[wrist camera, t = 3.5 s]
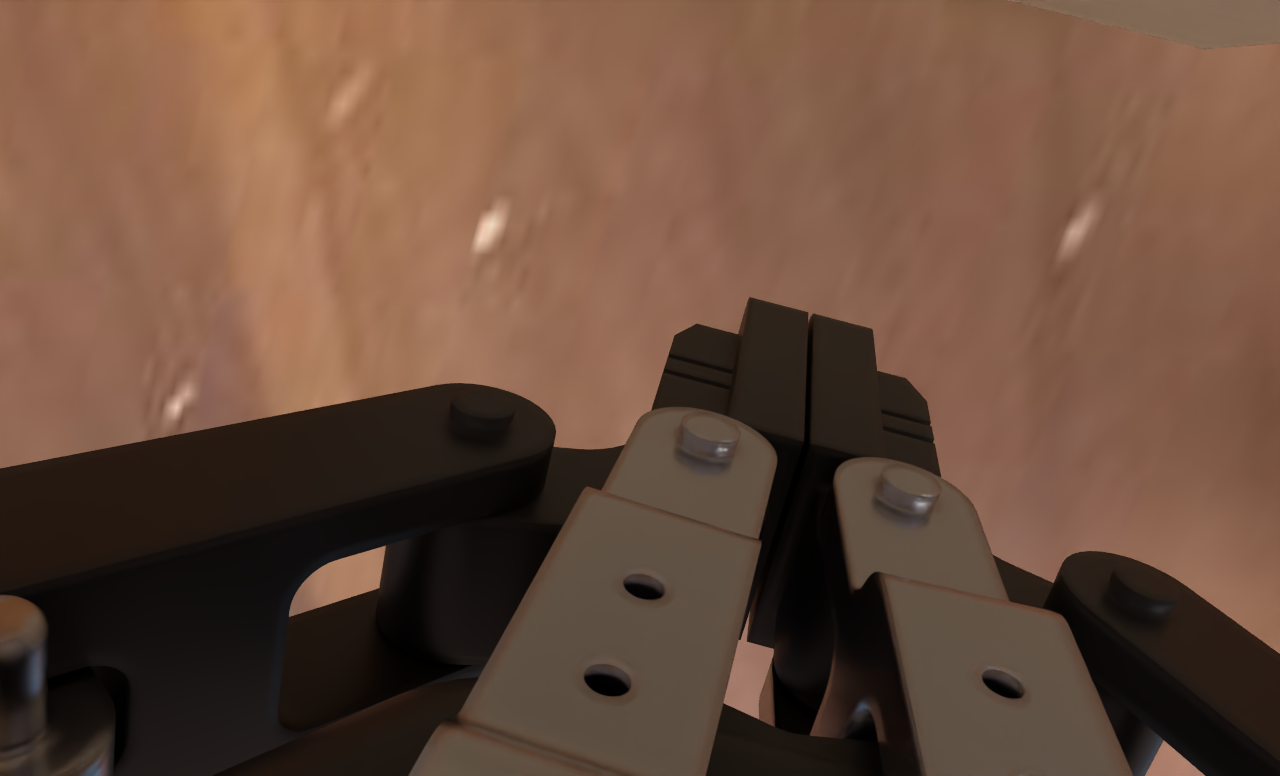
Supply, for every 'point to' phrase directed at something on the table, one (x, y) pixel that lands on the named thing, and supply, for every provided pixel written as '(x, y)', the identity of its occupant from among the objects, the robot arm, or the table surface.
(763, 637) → the robot arm
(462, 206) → the table surface
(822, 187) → the table surface
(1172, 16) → the lid
